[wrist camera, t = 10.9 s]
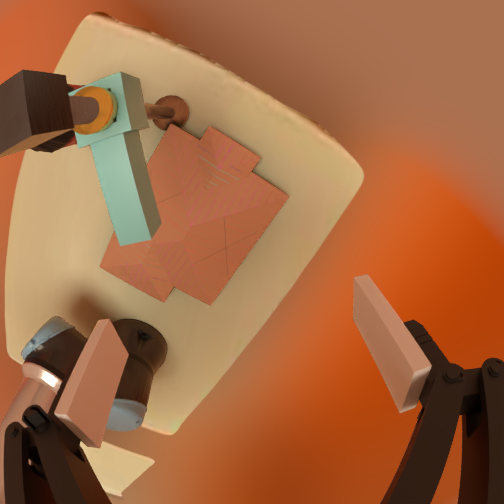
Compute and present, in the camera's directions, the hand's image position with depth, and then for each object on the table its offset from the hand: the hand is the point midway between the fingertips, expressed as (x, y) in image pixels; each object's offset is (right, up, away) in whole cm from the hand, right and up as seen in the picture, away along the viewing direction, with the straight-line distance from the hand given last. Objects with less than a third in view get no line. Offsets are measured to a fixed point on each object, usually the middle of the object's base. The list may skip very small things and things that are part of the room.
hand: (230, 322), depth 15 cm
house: (-10, +9, +39) cm, 41 cm away
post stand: (-12, +27, +29) cm, 42 cm away
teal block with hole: (-10, +12, +10) cm, 19 cm away
